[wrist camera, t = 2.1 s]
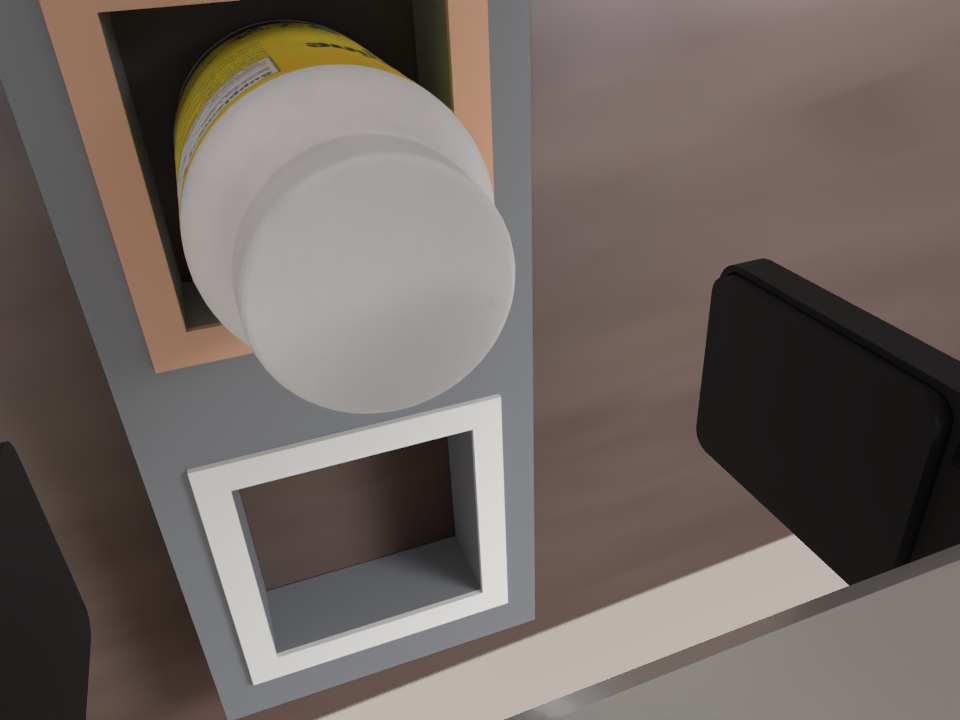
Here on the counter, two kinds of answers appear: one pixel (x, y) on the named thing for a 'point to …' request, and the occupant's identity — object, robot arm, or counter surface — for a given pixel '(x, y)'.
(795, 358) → the robot arm
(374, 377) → the pill bottle
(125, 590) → the counter surface
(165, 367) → the socket stand
